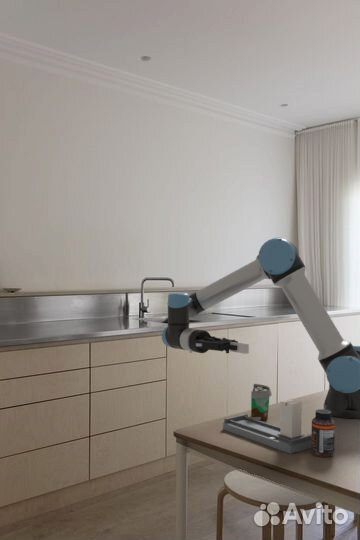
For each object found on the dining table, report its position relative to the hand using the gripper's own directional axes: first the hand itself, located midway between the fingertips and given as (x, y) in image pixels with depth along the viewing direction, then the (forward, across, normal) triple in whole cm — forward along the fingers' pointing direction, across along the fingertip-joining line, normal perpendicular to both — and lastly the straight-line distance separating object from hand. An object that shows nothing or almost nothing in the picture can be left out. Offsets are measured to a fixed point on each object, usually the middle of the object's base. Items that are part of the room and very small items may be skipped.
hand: (246, 349), depth 158 cm
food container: (-6, -13, -25) cm, 28 cm away
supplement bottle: (+26, -2, -25) cm, 36 cm away
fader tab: (+17, 0, -23) cm, 28 cm away
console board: (+8, 0, -24) cm, 26 cm away
